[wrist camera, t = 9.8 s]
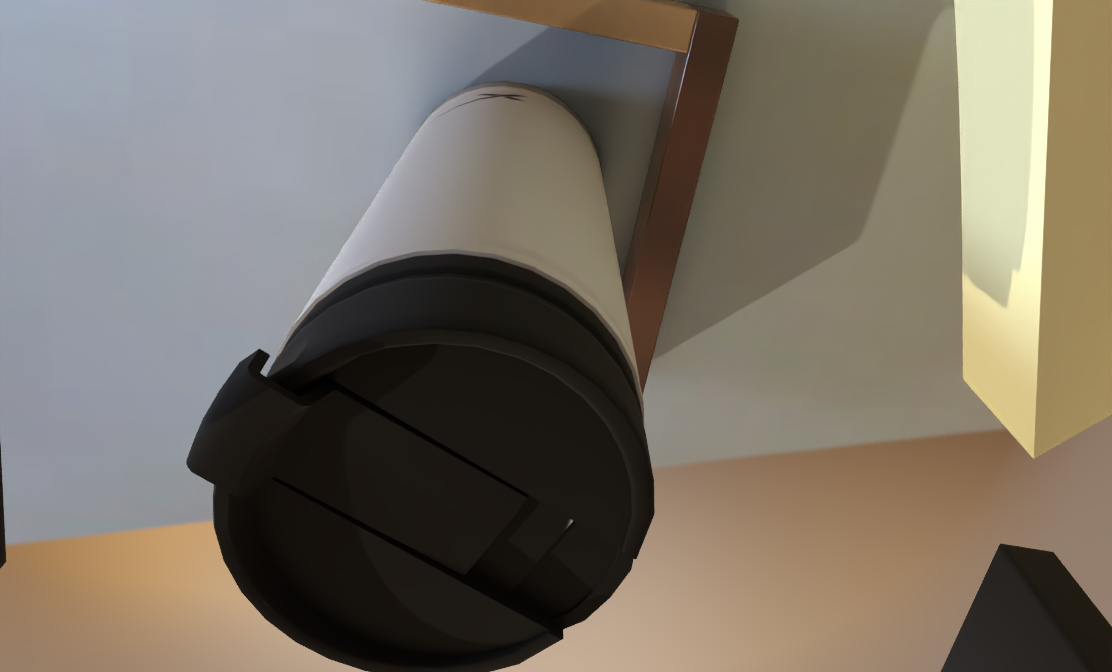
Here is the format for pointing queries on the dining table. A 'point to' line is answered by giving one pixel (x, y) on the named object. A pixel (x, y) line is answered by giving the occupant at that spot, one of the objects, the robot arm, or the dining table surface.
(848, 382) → the dining table surface
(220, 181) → the dining table surface
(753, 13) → the dining table surface
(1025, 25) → the slatted curved stool
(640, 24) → the frame
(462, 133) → the travel mug
